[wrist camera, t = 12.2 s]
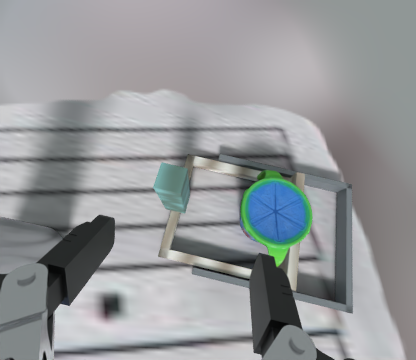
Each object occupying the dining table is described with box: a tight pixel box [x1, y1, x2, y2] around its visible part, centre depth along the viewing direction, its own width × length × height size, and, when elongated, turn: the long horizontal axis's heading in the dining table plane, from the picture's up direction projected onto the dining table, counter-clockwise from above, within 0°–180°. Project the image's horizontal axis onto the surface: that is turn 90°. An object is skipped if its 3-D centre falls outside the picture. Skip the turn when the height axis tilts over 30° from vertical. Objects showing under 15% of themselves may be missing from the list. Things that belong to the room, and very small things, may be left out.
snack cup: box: [240, 170, 312, 267], centre depth 36 cm, size 16×10×10 cm
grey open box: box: [153, 154, 305, 291], centre depth 34 cm, size 23×20×14 cm
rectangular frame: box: [192, 154, 353, 314], centre depth 40 cm, size 26×22×3 cm
